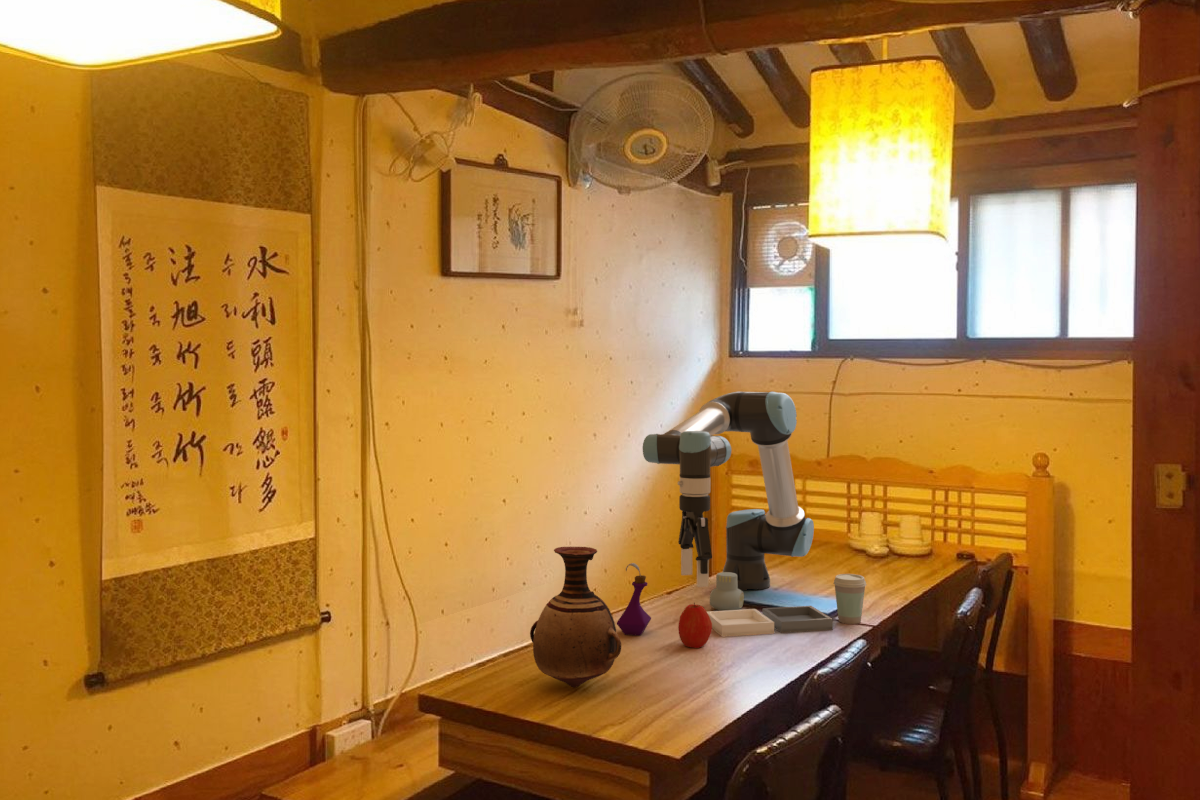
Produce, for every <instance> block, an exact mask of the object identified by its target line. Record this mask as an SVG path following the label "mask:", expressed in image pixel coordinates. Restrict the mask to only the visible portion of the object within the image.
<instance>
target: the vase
mask: <svg viewBox="0 0 1200 800" xmlns="http://www.w3.org/2000/svg"><path fill="white" fill-rule="evenodd" d="M553 552H554V553H555V554H558V555H559V556H560V557H561V558H562V560H563V564H564V571H565V572H564V581H563V582H564V583H563V586H562V590H561V591H560V593H558V594H557V595H554V596H553V597H551V599H550V600H549V601H547V603H546V604H545V606H544V608H543V609H542V611H541V613H540V615H539V617H538V620H536V621H535V622H533V624H532V626H531V628H530V632H529V637H530V639H531V642H532V644H533V645H532V650H533V652H532V655H533V659H534V662H535V664H536V666H537V667H538V670H539V671H541V672H542V673H543V674H544V675H546V676H548V677H551V678H553V679H556V680H557V681H559V682H562V683H565V684H566V685H568V686H569V687H571V688H578V687H581V686H582V684H584V683H586V682H587V681H590V680H593V679H596V678H598V677H600V676H602V675H604V674H606V673H607V672H609V671H610V670H611V668H612V666H613V665H614V662H615V660H617V658H618V657H619V656H620V655H621V651H622V642H621V638H620V636H619V634H618V633H617V629H616V623H615V620H614V617H613V614H612V612H611V610H610V608H609V606H608V605H607V604H606V602H605V601H604V600H603V599H601V597H599V596H598V595H596V594H595V592H594V591H592V590H590V587H589V585H588V580H587V579H588V578H587V577H588V575H587V573H588V572H587V570H588V563H589V562H590V561H592V560H593V559H594V556H595V554H597V553H598V550H597V548H595V547H588V546H559V547H556V548H554V549H553Z"/></svg>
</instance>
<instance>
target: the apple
mask: <svg viewBox="0 0 1200 800" xmlns="http://www.w3.org/2000/svg"><path fill="white" fill-rule="evenodd" d="M707 612H708V611H707V610H706V609H705V608H704V607H703V606H702V605H700V604H695V602H694V603H692V604H691V603H690V604H688V605H687V606H686V607H685V608H684V609H683V611H682V612H681V614H680V617H679V620H678V625H677V627H678V635H679V638H680V641H681V642H682V644H683V645H684V646H685V647H688V648H692V649H697V648H698V649H699V648H701V647H704V646H705V645H706V644H707V642H708V641H709V639H710V637H711V634H712V630H713V628H712V622H711V619H710V617H709V615H708V613H707Z"/></svg>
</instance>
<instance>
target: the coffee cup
mask: <svg viewBox="0 0 1200 800" xmlns="http://www.w3.org/2000/svg"><path fill="white" fill-rule="evenodd" d="M833 585H834V590H835V592H834V593H835V599H836V600H835V601H836V609H837V611H836V612H837V619H838V622H839V623H842V624H846V625H847V624H848V625H857V624H860V623H861V622H862V615H863V607H864V598H865V590H866V587H867V582H866V579H865V577H864V576H863V575H861V574H855V573H840V574H837V575H835V578H834V580H833Z"/></svg>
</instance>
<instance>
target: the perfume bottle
mask: <svg viewBox="0 0 1200 800" xmlns="http://www.w3.org/2000/svg"><path fill="white" fill-rule="evenodd" d="M630 566H632V567H633V568H635V569H636V570H637V571H638V572H639V573H638V574H639V575H635V576H634V581H632V583H631V586H633V588H634V590H633V593H632V596H631V599H630V600H629V603H628V605H627V607H626V608H625V609H624V611H623V613H622V614H621V616H620V617H619V619H618V620H617V622H616V625H617V626H618V627H619V629H620V630H621V632H622V633H623V634H624V635H626V636H639V637H640V636H642V634H643V633H644V631H646V628H647V627H648V625H649V623H650V622H651V620H652V617H651V616H650V614H648V612H646V611H645V609H644V608H643V607H642V605H641V602H640V601H641V599H640V598H641V594H642V591H643V590H644V589H645V588H646V587H647V586H648V582H647V581H646V578H647V576H646V575H644V574H643V575H641V572H640V566H638V564H637V563H635V562H631V563H629V564H627V566H626V567H625V572H627V570H628V568H629V567H630Z"/></svg>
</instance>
